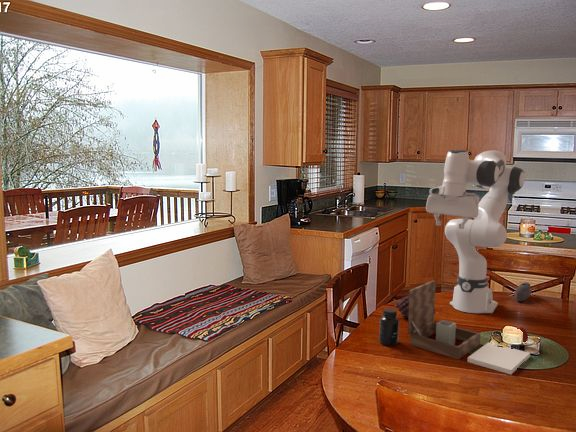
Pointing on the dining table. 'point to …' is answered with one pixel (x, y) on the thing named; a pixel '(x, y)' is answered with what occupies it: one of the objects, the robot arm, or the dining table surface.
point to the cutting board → (498, 358)
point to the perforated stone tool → (522, 292)
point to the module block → (446, 332)
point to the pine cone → (404, 306)
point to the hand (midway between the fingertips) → (449, 227)
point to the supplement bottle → (389, 327)
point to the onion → (525, 335)
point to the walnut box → (434, 325)
